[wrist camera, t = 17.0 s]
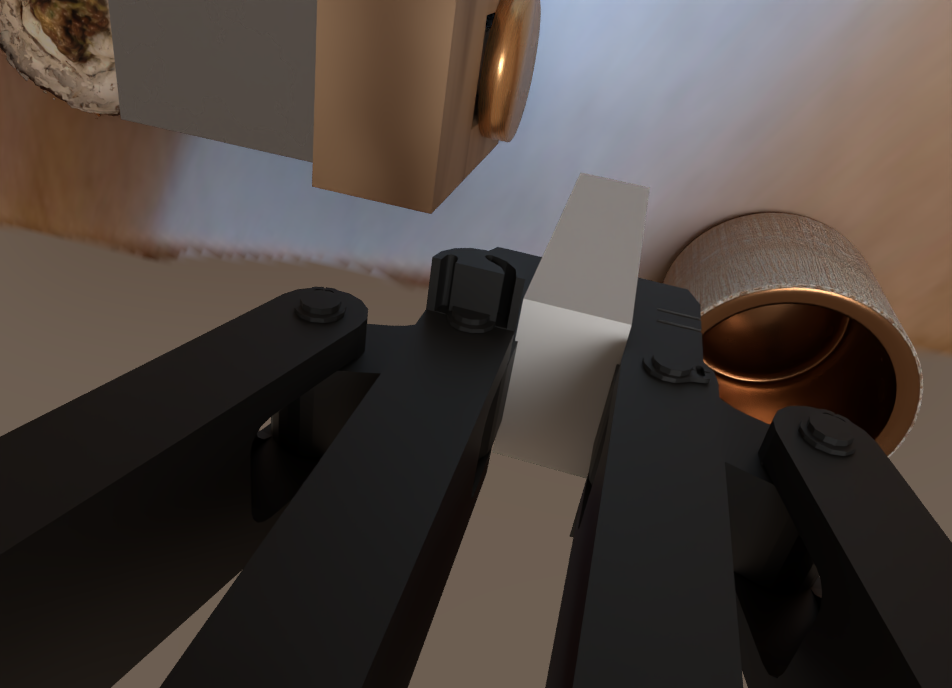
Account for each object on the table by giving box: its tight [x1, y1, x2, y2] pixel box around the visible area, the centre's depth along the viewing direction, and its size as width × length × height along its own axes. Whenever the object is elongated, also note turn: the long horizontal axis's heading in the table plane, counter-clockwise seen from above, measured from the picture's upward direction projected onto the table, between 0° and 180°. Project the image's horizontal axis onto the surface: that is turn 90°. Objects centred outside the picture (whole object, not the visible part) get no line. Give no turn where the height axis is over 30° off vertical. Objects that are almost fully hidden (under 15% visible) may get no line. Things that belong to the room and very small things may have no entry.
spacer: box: [312, 0, 500, 214], centre depth 31 cm, size 5×9×12 cm, turn 172°
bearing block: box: [108, 0, 317, 162], centre depth 33 cm, size 10×9×9 cm
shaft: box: [476, 0, 541, 142], centre depth 34 cm, size 14×6×6 cm, turn 82°
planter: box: [663, 213, 923, 458], centre depth 35 cm, size 11×11×10 cm
